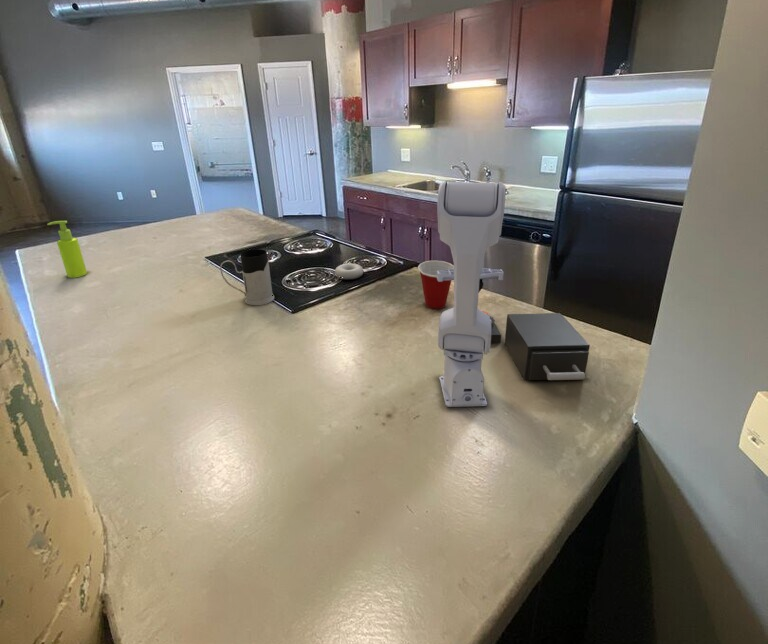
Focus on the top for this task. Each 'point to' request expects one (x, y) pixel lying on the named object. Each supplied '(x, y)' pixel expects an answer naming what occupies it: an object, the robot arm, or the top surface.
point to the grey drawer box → (539, 336)
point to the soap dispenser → (70, 252)
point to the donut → (349, 271)
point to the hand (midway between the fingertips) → (467, 308)
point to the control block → (494, 332)
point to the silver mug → (255, 277)
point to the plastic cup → (434, 283)
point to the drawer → (558, 364)
